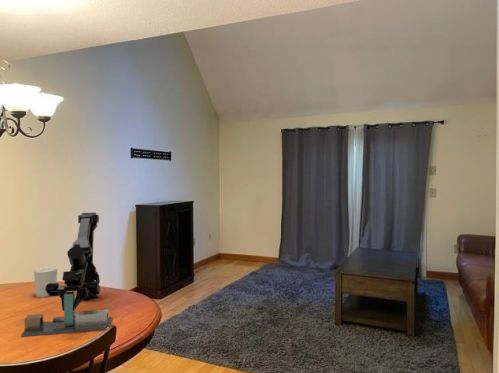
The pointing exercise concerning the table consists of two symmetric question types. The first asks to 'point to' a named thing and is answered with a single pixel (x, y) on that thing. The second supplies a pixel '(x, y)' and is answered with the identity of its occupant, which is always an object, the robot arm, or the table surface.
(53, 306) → the table surface
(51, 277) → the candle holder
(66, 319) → the sliding bolt with handle
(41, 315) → the sleeve and socket
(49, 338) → the table surface
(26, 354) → the table surface
